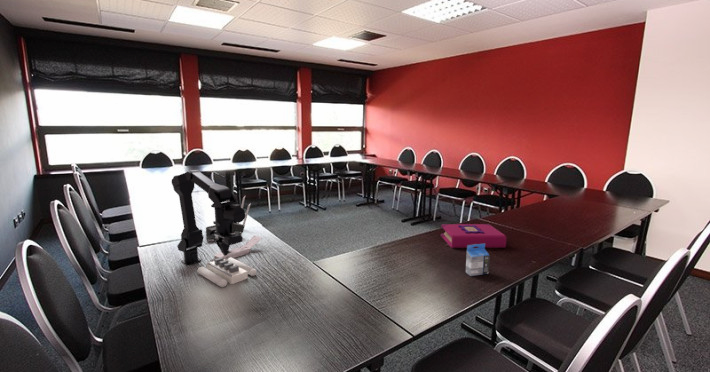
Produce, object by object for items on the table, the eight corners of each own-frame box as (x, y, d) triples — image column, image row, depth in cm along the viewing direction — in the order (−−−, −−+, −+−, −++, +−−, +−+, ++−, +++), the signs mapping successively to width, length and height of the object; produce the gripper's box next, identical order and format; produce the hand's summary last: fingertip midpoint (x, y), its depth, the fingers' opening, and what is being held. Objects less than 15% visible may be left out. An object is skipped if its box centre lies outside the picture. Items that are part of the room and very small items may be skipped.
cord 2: (227, 264, 148) (226, 258, 148) (233, 262, 151) (233, 256, 150) (251, 278, 136) (251, 271, 135) (258, 275, 138) (257, 268, 138)
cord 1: (197, 274, 139) (197, 267, 138) (204, 272, 141) (204, 265, 140) (221, 289, 126) (220, 282, 126) (228, 286, 128) (228, 279, 128)
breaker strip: (207, 269, 143) (206, 258, 142) (222, 264, 148) (222, 254, 147) (231, 284, 130) (230, 272, 129) (247, 278, 135) (247, 266, 134)
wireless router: (205, 228, 200) (203, 195, 197) (245, 223, 210) (244, 192, 206) (207, 246, 170) (204, 208, 166) (254, 240, 180) (252, 204, 176)
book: (505, 249, 170) (507, 234, 169) (451, 249, 170) (452, 235, 168) (488, 235, 191) (489, 223, 190) (439, 235, 190) (440, 223, 189)
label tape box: (470, 276, 138) (472, 248, 136) (464, 272, 142) (466, 244, 140) (488, 274, 140) (491, 246, 138) (482, 270, 144) (484, 243, 142)
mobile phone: (262, 237, 167) (215, 252, 147) (263, 249, 168) (216, 264, 148) (255, 235, 170) (208, 249, 151) (255, 246, 171) (209, 261, 152)
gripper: (253, 218, 135) (255, 255, 138) (229, 211, 147) (231, 244, 150) (227, 224, 127) (230, 263, 129) (204, 216, 139) (207, 251, 141)
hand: (225, 255), depth 138 cm, fingers closed
